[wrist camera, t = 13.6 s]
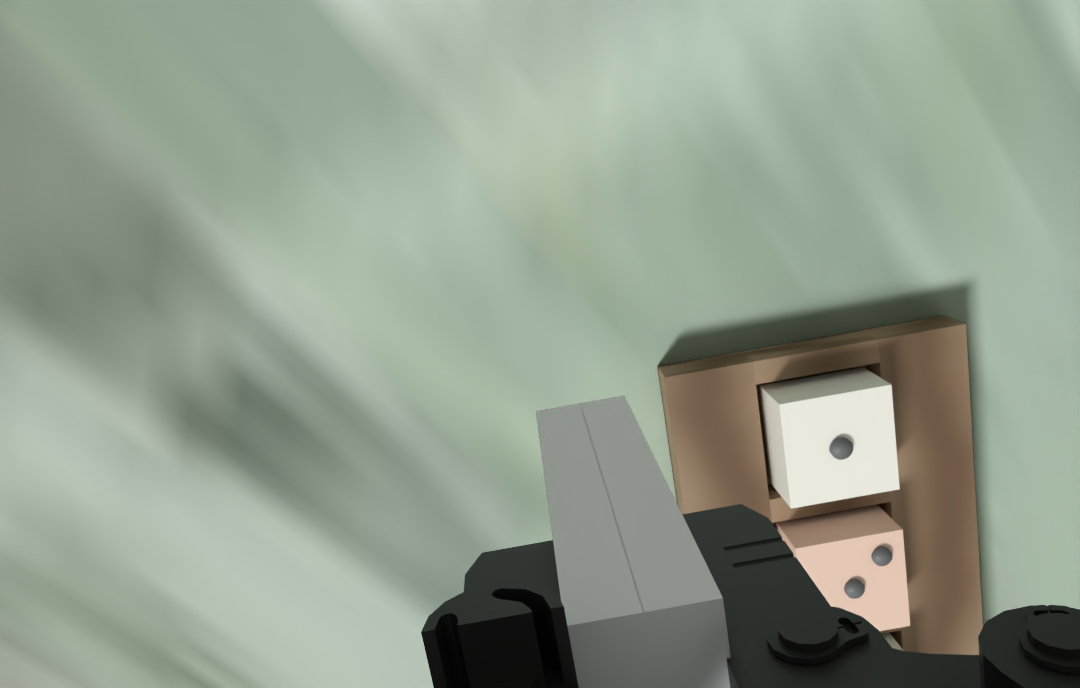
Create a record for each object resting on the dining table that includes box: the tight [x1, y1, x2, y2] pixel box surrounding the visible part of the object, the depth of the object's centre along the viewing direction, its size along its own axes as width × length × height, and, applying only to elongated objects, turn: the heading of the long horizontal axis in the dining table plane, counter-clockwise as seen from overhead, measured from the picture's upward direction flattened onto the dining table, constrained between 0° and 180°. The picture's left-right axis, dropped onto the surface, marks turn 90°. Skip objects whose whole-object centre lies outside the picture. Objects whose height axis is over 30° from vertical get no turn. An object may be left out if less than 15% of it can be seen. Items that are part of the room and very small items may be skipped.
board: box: [657, 316, 983, 655], centre depth 43 cm, size 14×22×2 cm, turn 10°
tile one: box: [760, 367, 900, 509], centre depth 40 cm, size 5×5×3 cm
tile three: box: [775, 504, 910, 631], centre depth 42 cm, size 5×5×3 cm
